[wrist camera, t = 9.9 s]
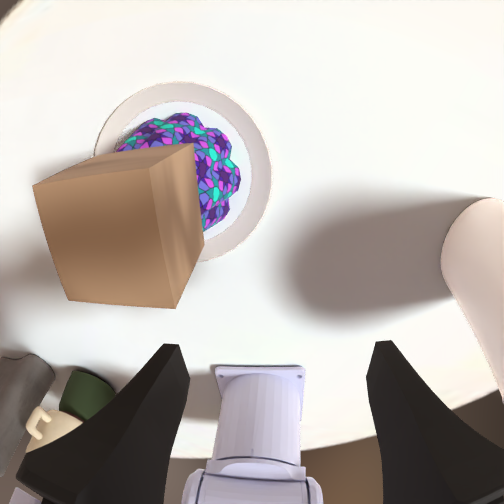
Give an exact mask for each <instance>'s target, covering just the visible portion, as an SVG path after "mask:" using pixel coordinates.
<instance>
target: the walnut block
mask: <svg viewBox="0 0 504 504" xmlns="http://www.w3.org/2000/svg"><path fill="white" fill-rule="evenodd" d="M32 187H33V192H34V196H35V200H36V204H37V208H38V212H39V216H40V219H41V223H42V226H43V230H44V233H45V237H46V240H47V243H48V246H49V249H50V252H51V255H52V258H53V261H54V264H55V267H56V270H57V273H58V275H59V278H60V281H61V283H62V286H63V288H64V291H65V293H66V296H67V298H68V300H69V301H78V302H89V303H99V304H111V305H123V306H137V307H152V308H170V309H176V307H177V304H178V302H179V300H180V298H181V295H182V293H183V291H184V289H185V286H186V284H187V282H188V280H189V278H190V275H191V273H192V271H193V269H194V267H195V264H196V262H197V260H198V258H199V256H200V254H201V252H202V249H203V247H204V245H205V244H204V236H203V228H202V220H201V211H200V203H199V193H198V184H197V174H196V164H195V154H194V143H186V144H176V145H166V146H157V147H149V148H142V149H134V150H127V151H121V152H114V153H108V154H102V155H98V156H95V157H93V158H90V159H88V160H86V161H83V162H81V163H79V164H77V165H74V166H72V167H70V168H68V169H66V170H63V171H61V172H59V173H57V174H55V175H53V176H51V177H49V178H47V179H45V180H43V181H41V182H39V183H37V184H35V185H33V186H32Z"/></svg>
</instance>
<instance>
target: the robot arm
mask: <svg viewBox="0 0 504 504" xmlns="http://www.w3.org/2000/svg"><path fill="white" fill-rule="evenodd" d="M215 375H216V379H217V383H218V387H219V391H220V394H221V398H222V405H221V410H220V416H219V421H218V427H217V432H216V438H215V443H214V449H213V454H212V460H208V461H207V466H206V470H205V469H197V470H196V471H195V472H194V473H192V474H191V475H190V476H189V477H188V479H187V482H186V485H185V488H184V492H183V497H182V502H181V504H323V496H322V491H321V487H320V486H319V484H318V483H317V482H316V481H315V480H314V479H313V478H312V477H305V467H300V421H301V417H302V407H303V396H304V384H305V368H303V367H226V366H218V367H216V368H215ZM366 381H367V389H368V397H369V403H370V407H371V412H372V416H373V420H374V424H375V429H376V433H377V438H378V442H379V447H380V452H381V459H382V472H383V504H503V503H504V498H503V495H504V449H502V448H500V447H498V446H497V445H495V444H494V443H492V442H491V441H489V440H487V439H486V438H484V437H483V436H481V435H480V434H479V433H477V432H476V431H475V430H474V429H472V428H471V427H470V426H468V425H467V424H466V423H464V422H463V421H462V420H461V419H460V418H459V417H458V416H456V415H455V414H454V413H453V412H452V411H451V410H450V409H449V408H448V407H447V406H446V405H445V404H444V403H443V402H442V401H441V400H440V399H439V398H438V397H437V395H436V394H435V393H434V392H433V391H432V390H431V389H430V388H429V387H428V385H427V384H426V383H425V382H424V381H423V379H422V378H421V377H420V376H419V375H418V373H417V372H416V371H415V370H414V369H413V367H412V366H411V365H410V363H409V362H408V361H407V360H406V358H405V357H404V356H403V354H402V353H401V352H400V351H399V349H398V348H397V347H396V345H395V344H394V343H393V342H392V341H391V340H389V341H378V342H376V343H375V347H374V351H373V354H372V358H371V362H370V365H369V369H368V372H367V376H366ZM189 383H190V377H189V374H188V371H187V368H186V365H185V362H184V359H183V356H182V353H181V350H180V347H179V344H163V345H162V346H161V347H160V348H159V349H158V350H157V352H156V353H155V354H154V355H153V356H152V357H151V359H150V360H149V361H148V362H147V363H146V364H145V365H144V367H143V368H142V369H141V370H140V371H139V372H138V373H137V374H136V375H135V376H134V378H133V379H132V380H131V381H130V382H129V383H128V384H127V385H126V386H125V387H124V388H123V389H122V390H121V391H120V392H119V393H118V394H117V395H116V396H115V397H114V398H113V399H112V400H111V401H110V402H109V403H108V404H106V405H105V406H104V407H103V408H102V409H101V410H99V411H98V412H97V413H96V414H95V415H93V416H92V417H91V418H89V419H88V420H87V421H85V422H84V423H82V424H81V425H79V426H78V427H76V428H75V429H73V430H72V431H70V432H69V433H67V434H65V435H64V436H62V437H60V438H58V439H56V440H54V441H52V442H50V443H48V444H46V445H44V446H42V447H39V448H37V449H35V450H32V451H30V452H27V453H26V455H25V457H24V459H23V461H22V463H21V465H20V468H19V470H18V472H17V474H16V479H17V480H18V481H20V482H21V483H22V484H24V485H25V486H27V487H28V488H30V489H31V490H33V491H34V492H36V493H37V494H39V495H40V496H42V497H43V500H42V502H41V501H39V500H37V499H36V498H34V497H32V496H30V495H29V494H27V493H26V492H24V491H23V490H21V489H19V488H18V487H16V488H15V490H14V493H13V495H12V498H11V500H10V503H9V504H163V502H164V493H165V484H166V478H167V471H168V465H169V459H170V455H171V451H172V447H173V444H174V440H175V437H176V434H177V431H178V427H179V424H180V421H181V418H182V414H183V411H184V408H185V404H186V401H187V395H188V389H189Z"/></svg>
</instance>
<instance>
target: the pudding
mask: <svg viewBox="0 0 504 504" xmlns="http://www.w3.org/2000/svg"><path fill="white" fill-rule="evenodd" d="M174 101H180V102H191V103H195V104H199V105H203V106H205V107H207V108H209V109H211V110H213V111H215V112H217V113H218V114H219V115H221V116H222V117H224V118H225V119H226V120H227V121H228V122H229V123H230V124H231V125H232V126H233V127H234V128H235V129H236V131H237V132H238V134H239V135H240V137H241V138H242V140H243V142H244V144H245V147H246V149H247V151H248V154H249V158H250V163H251V173H252V182H251V188H250V194H249V197H248V199H247V202H246V205H245V207H244V209H243V210H242V212H241V214H240V216H239V217H238V218H237V219H236V220H235V221H234V223H233V224H232V225H231V226H230V227H228V228H227V229H226V230H225V231H224V232H222V233H220V234H219V235H217V236H215V237H213V238H211V239H208V240H205V241H204V244H205V245H204V247H203V249H202V252H201V254H200V256H199V258H198V260H197V262H203V261H208V260H211V259H214V258H217V257H220V256H222V255H224V254H226V253H228V252H230V251H232V250H234V249H235V248H236V247H238V246H239V245H240V244H241V243H243V242H244V241H245V240H246V239H247V238H248V237H249V236H250V235H251V234H252V232H253V231H254V230H255V229H256V228H257V226H258V224H259V223H260V221H261V219H262V218H263V216H264V214H265V211H266V208H267V206H268V203H269V200H270V195H271V189H272V163H271V158H270V153H269V148H268V146H267V143H266V141H265V138H264V136H263V134H262V132H261V130H260V128H259V127H258V125H257V124H256V122H255V121H254V119H253V118H252V116H251V115H250V114H249V113H248V112H247V111H246V110H245V109H244V108H243V107H242V106H241V105H240V104H239V103H238V102H236V101H235V100H233V99H232V98H231V97H229V96H228V95H226V94H225V93H223V92H221V91H219V90H216V89H214V88H212V87H210V86H206V85H202V84H198V83H194V82H179V81H174V82H167V83H161V84H156V85H154V86H151V87H148V88H145V89H143V90H141V91H139V92H137V93H136V94H134V95H132V96H131V97H129V98H128V99H127V100H126V101H124V102H123V103H122V104H121V105H120V106H119V107H118V108H117V109H116V110H115V111H114V112H113V114H112V115H111V116H110V118H109V119H108V120H107V122H106V124H105V126H104V127H103V129H102V131H101V133H100V136H99V139H98V142H97V145H96V148H95V155H94V157H95V156H98V155H102V154H108V153H113V152H114V149H115V146H116V143H117V141H118V139H119V137H120V135H121V133H122V132H123V130H124V129H125V128H126V126H127V125H128V124H129V123H130V122H131V121H132V120H133V119H134V118H135V117H136V116H138V115H139V114H140V113H142V112H143V111H145V110H147V109H149V108H150V107H153V106H156V105H159V104H162V103H167V102H174ZM186 143H194V154H195V164H196V174H197V184H198V193H199V203H200V211H201V220H202V228H203V232H204V231H206V230H207V229H209V228H210V227H212V226H214V225H215V224H217V223H218V222H220V221H221V220H223V219H224V218H225V216H226V215H227V213H228V212H229V210H230V208H229V199H228V198H229V197H230V196H231V195H233V194H234V193H235V192H236V191H238V188H239V184H240V181H241V178H240V172H239V168H238V167H237V166H236V165H235V164H234V163H233V162H232V161H231V160H230V154H231V148H232V146H231V144H230V142H229V140H228V138H227V136H226V135H225V134H223V133H222V132H221V131H220V130H218V129H217V128H204V126H203V125H202V123H201V122H200V120H199V118H198V117H197V116H194V115H192V114H189V113H175V114H174V115H173V116H172V117H170V118H169V119H168V120H167V121H164V120H160V119H157V118H153V119H151V120H148V121H146V122H144V123H143V124H142V125H141V126H140V127H139V128H138V129H137V130H136V131H135V132H134V133H133V134H132V135H131V136H130V137H129V138H128V139H127V140H126V141H125V142H124V143H123V144H122V145H121V147H120V148H119V149H118V150H117V151H116V152H121V151H127V150H134V149H142V148H149V147H157V146H166V145H176V144H186Z"/></svg>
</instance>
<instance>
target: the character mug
mask: <svg viewBox="0 0 504 504" xmlns="http://www.w3.org/2000/svg"><path fill="white" fill-rule="evenodd" d="M115 396H116V395H115V392H114V391H113V389H112V388H111V387H110V386H109V385H108V384H107V383H105V382H104V381H102V380H101V379H99V378H97V377H95V376H92V375H90V374H88V373H84V372H80V371H72V374H71V376H70V378H69V380H68V382H67V385H66V387H65V390H64V393H63V395H62V398H61V401H60V404H59V411H57V410H49V411H47V412H46V411H45V410H44V409H43V408H42V407H40V406H37V407H36V408H35V409H34V410H33V412H32V414H31V416H30V417H29V419H28V421H27V423H26V429H27V430H28V432H29V433H30V434H32V438H31V440H30V442H29V445H28V446H27V449H26V453H27V452H30V451H32V450H35V449H37V448H39V447H42V446H44V445H46V444H48V443H50V442H52V441H54V440H56V439H58V438H60V437H62V436H64V435H65V434H67V433H69V432H70V431H72V430H73V429H75V428H76V427H78V426H79V425H81V424H82V423H84V422H85V421H87V420H88V419H89V418H91V417H92V416H93V415H95V414H96V413H97V412H98V411H99V410H101V409H102V408H103V407H104V406H105V405H106V404H108V403H109V402H110V401H111V400H112V399H113V398H114V397H115ZM40 417H41V418H40ZM39 419H40V420H39ZM38 421H39V422H38ZM37 423H38V424H37ZM36 425H37V426H36Z"/></svg>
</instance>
